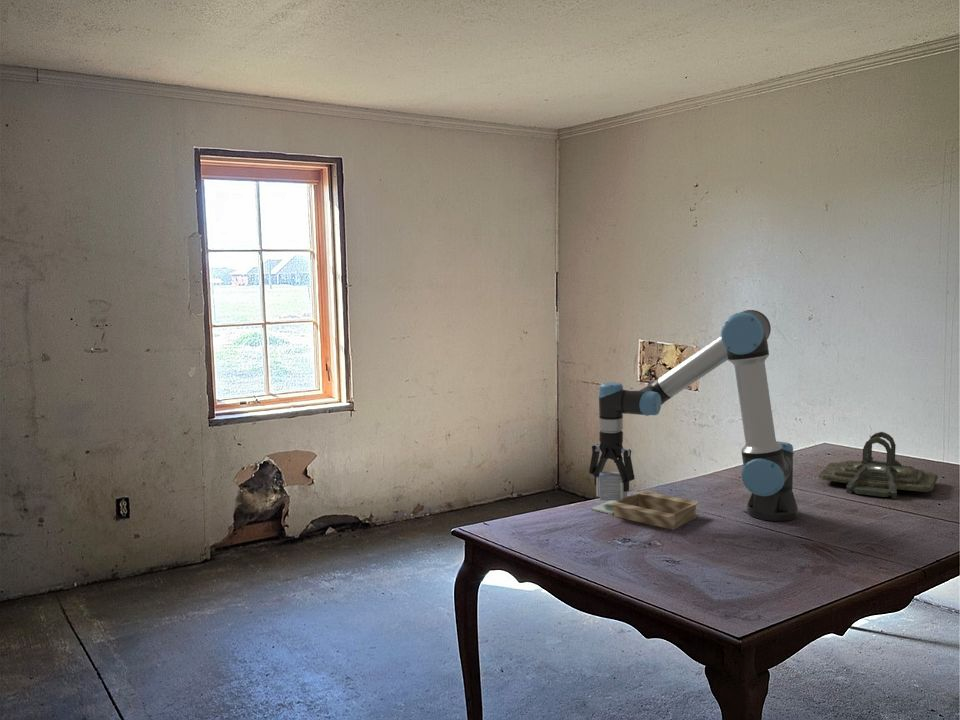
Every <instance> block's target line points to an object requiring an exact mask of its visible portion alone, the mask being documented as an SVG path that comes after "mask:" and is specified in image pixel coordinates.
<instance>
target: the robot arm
mask: <svg viewBox="0 0 960 720" xmlns="http://www.w3.org/2000/svg"><path fill="white" fill-rule="evenodd" d="M771 328H772V327H771V322H770V321H769V318H768V317H767V316H766V315H765V314H764V313H762V312H761V311H759V310H755V309H747V310H743V311H740V312H738V313H734V314H732V315H730V316H729V317H728V318H727V319H726V320H725V322H724V323H723V325H722V327H721V331H720V334H719V336H717V337H716V338H715V339H713V340H712V341H710V342H709V343H708V344H706V345H705V346H703V347H702V348H700V349H699V350H697V351H696V352H694V353H693V354H691V355H690V356H689V357H687V358H686V359H684V360H683V361H681V362H680V363H678V364H677V365H675V366H674V367H672V369H670V370H668V371H667V372H665V373H664V374H663V375H661V376H659V377H658V378H657V379H655V380H654V381H653V382H652V383H650V384H649V385H647V386H645V387H643V388H640V389H639V390H628V389H624V388H623V384H622V383H621V382H610V381H609V382H602V383H601V384H600V385H599V391H598V393H599V394H598V407H599V408H598V411H599V412H598V413H599V414H598V415H599V416H598V417H599V419H598V420H599V421H598V422H599V423H598V425H599V426H598V428H599V430H600V431H599V440H598V441H599V444H594V445H592V446H591V451H592V452H591V453H592V454H591V458H590V464H589V468H588V469H589V471H588V473H589V474H590V475H592V476H593V477H594V486H595V487H596V489H595V490H596V491H595V493H596V497H597V498H598V497H599V498H600V495H599V472H603V470H604V468H605V466H606V463H607V461H608V459H610V460H613V463H615V465H616V467H617V470H618V472H619V473H620V476H621V478H622V482H620V490H621V499H623V498H626V497H628V492H629V491H630V482H631V481H634V480H635V472H634V467H633V463H632V462H633V461H632V456H631V455H632V450H631V449H625V448H624V447H623V442H624V432H623V429H624V427H623V425H624V423H623V421H624V420H623V419H624V417H623V415H624V414H625V415H626V414H627V415H640V416H647V417H648V416H657V415H659V414H660V411H661V408H662V406H663V404H665V403H666V402H667V401H669V400H670V399H671V398H673V397H674V396H676V395H677V394H679V393H680V392H682V391H683V390H685V389H687V388H688V387H689V386H691V385H692V384H695V382H697V381H699V380H700V379H701V378H703V377H704V376H706V375H707V374H709V373H710V372H713V370H715V369H717V368H718V367H719V366H721V365H722V364H724V363H725V362H727V361H728V362H730V363H731V364H732V365H733V366H734V372H735V379H736V386H737V393H738V399H739V401H738V402H739V406H740V413H741V418H742V419H741V420H742V426H743V427H742V428H743V433H744V434H743V435H744V440H745V441H744V443H745V444H744V446H743V447H742V448H741V450H740V451H741V458H742V466H743V467H742V469H741V481H742V483H743V485H744V487H745V488H746V490H748V491H749V492H750V493H751V494H750V495H749V499H748V502H747V506H746V513H747V514H748V515H749V516H751V517H753V518H755V519H758V520H764V521H770V522H773V521H774V522H786V521H792V520H795V519H797V518H798V517H799V507H798V504H797V499H796V497H795V495H794V491H793V487H794V486H793V484H794V483H793V482H794V481H793V478H794V477H793V475H794V472H793V471H794V470H793V469H794V454H795V451H794V447H793V445H792V444H791V443H790V442H786V441H779V440H778V441H777V439H776V438H777V437H776V433H775V425H774V418H773V410H772V404H771V398H770V397H771V396H770V389H769V383H768V376H767V368H766V364H765V363H766V362H765V361H766V360H767V359H768V357H769V356H770V352H769V350H770V349H769V343H768V339H769V337H770V334H771V330H772V329H771ZM600 452H601V455H600Z"/></svg>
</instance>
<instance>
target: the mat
mask: <svg viewBox="0 0 960 720" xmlns="http://www.w3.org/2000/svg"><path fill="white" fill-rule="evenodd" d="M616 501H618V500H611V501H605V502H602V503H600V504H598V505H595V506H593V507H591V508H590V510H591V511H594V512H598V511H600V512H599V513H603V512H604V513H603V514H607V513H608V515H614V506H610V505H609V504H611V503H614V502H616Z"/></svg>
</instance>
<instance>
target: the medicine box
mask: <svg viewBox="0 0 960 720" xmlns="http://www.w3.org/2000/svg"><path fill="white" fill-rule="evenodd" d="M620 482H622V478H621V476H620V473H619V471H602V472H599V495H600V496H599V501H601V502H602V501H605V502H607V501H611V500H617V501H619V500H621V490H620Z"/></svg>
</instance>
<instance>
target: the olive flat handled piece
mask: <svg viewBox="0 0 960 720" xmlns="http://www.w3.org/2000/svg"><path fill="white" fill-rule="evenodd" d="M886 440H887V441H886ZM873 444H880V445H881V446H883V447H884V448H885V451H886V461H878V460H873V459H874V457H873V454H872V453H873ZM896 445H897V444H896V443H895V440H894V437H892V436H891V435H890V434H888V433H886V432H884V431H878V432H876V433H874V434H872V435H871V436H870V437H869V439H868V440H867V441H865V443H864V445H863V447H862V460H860V461H858V460H852V459H851V460H847V461H840V462H830V463H828V465H826V467H825V468H824V469H823V470H822V471H821V472H820V473H819V474H818V478H819V479H821V480H823V481H830V482H837V483H845V484H846V486H845V488H846V489H845V491H846V494H851V495H852V494H858V495H867V496H872V497H873V496H874V497H882V498H885V497H890V498H891V499H892V500H898V491H897V490H904V491H912V492H913V491H914V492H922V493H923V492H933V491H934V488H935V485H936V484H937V481H938V477H939V476H938V474H935V473H933V472H929V471H925V470H923V469H920V468H915V467H913V466H909V465H908V466H907V465H902V463H901V462H899V461H898V460H896V447H897V446H896Z"/></svg>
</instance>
